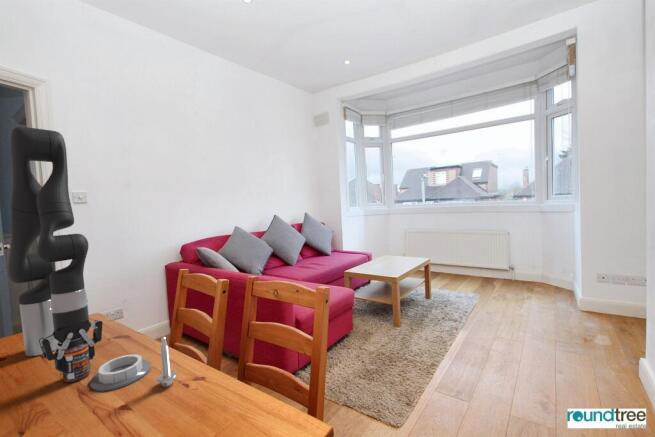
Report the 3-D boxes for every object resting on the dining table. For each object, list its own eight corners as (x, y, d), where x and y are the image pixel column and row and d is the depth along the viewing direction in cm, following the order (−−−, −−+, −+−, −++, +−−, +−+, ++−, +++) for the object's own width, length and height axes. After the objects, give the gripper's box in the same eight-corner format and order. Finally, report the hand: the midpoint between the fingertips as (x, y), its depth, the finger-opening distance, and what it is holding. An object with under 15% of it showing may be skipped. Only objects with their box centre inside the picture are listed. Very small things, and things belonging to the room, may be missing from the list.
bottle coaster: (80, 382, 82) (78, 371, 82) (133, 357, 94) (132, 347, 94) (107, 397, 75) (106, 384, 75) (161, 368, 88) (160, 357, 87)
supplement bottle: (75, 384, 81) (70, 343, 81) (57, 382, 83) (53, 342, 82) (96, 371, 87) (92, 333, 86) (79, 370, 88) (75, 332, 88)
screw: (164, 378, 82) (181, 378, 82) (152, 389, 78) (170, 389, 77) (160, 332, 81) (177, 332, 81) (148, 340, 77) (166, 340, 76)
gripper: (93, 296, 92) (98, 350, 93) (29, 313, 79) (36, 375, 80) (106, 299, 88) (111, 355, 89) (41, 318, 75) (49, 382, 77)
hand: (76, 364), depth 85 cm, fingers closed on supplement bottle, 6 cm apart
